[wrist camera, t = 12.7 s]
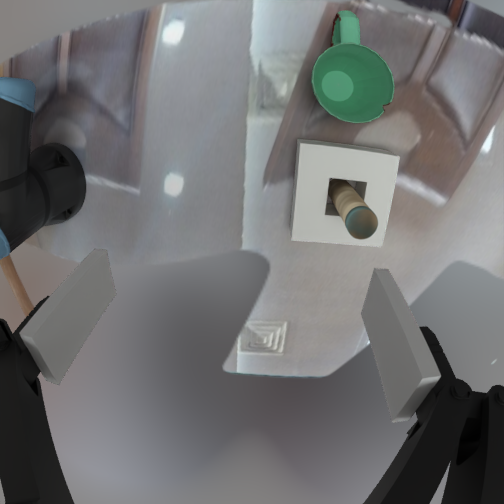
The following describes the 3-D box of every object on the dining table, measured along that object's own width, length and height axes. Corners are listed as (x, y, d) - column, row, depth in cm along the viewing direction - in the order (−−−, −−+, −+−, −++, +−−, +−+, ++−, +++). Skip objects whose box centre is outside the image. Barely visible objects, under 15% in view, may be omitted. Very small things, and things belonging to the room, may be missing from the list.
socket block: (289, 226, 48) (291, 240, 44) (297, 138, 41) (300, 143, 37) (372, 233, 47) (381, 247, 43) (387, 150, 41) (399, 156, 36)
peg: (325, 198, 45) (344, 238, 33) (328, 175, 44) (349, 207, 31) (348, 201, 45) (374, 240, 33) (351, 178, 43) (380, 210, 31)
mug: (369, 120, 39) (394, 126, 30) (304, 117, 40) (313, 122, 31) (365, 28, 32) (389, 12, 23) (299, 23, 33) (306, 3, 24)
